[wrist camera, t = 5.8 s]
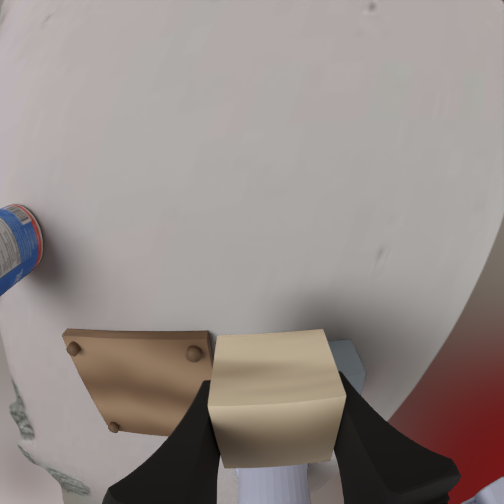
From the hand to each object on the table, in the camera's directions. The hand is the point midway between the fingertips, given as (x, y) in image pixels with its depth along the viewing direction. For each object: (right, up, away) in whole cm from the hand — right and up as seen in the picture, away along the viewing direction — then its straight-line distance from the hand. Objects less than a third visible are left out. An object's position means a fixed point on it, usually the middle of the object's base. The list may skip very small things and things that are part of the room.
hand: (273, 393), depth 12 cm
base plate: (-10, -5, +11) cm, 15 cm away
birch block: (0, +1, +1) cm, 1 cm away
